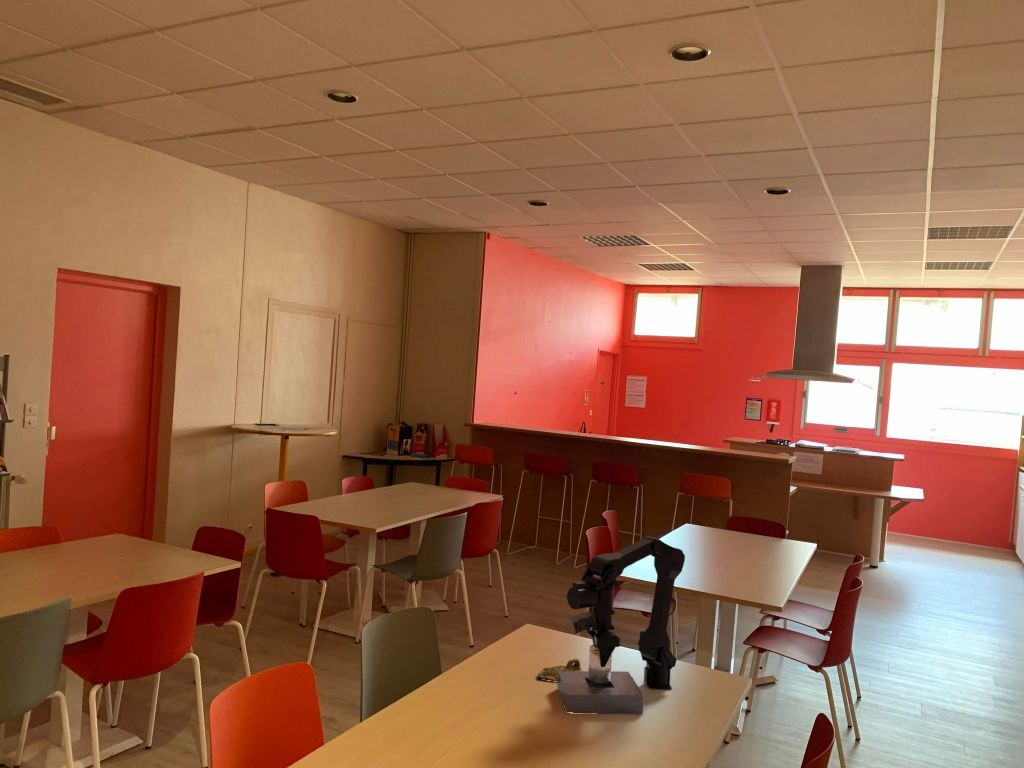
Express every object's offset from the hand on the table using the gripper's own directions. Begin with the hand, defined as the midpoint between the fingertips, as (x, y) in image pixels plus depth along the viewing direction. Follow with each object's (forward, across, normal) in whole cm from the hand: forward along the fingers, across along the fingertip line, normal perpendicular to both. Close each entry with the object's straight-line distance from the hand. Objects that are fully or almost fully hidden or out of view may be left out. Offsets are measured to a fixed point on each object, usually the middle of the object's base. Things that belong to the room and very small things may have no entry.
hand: (600, 662), depth 202 cm
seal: (+11, -18, -8) cm, 23 cm away
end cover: (+5, 0, 0) cm, 5 cm away
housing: (+10, 0, 0) cm, 10 cm away
